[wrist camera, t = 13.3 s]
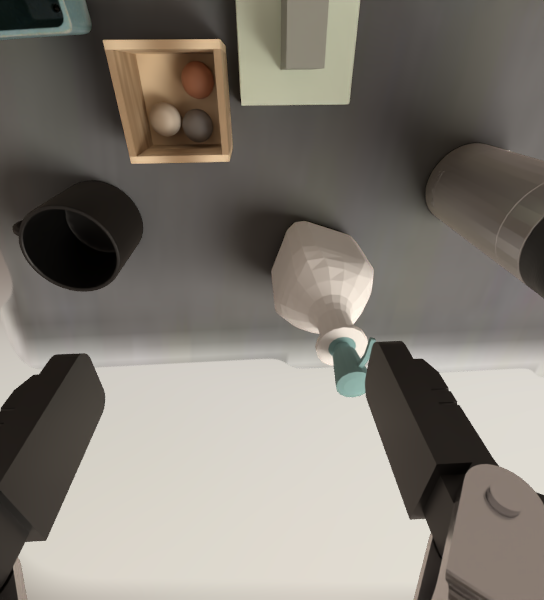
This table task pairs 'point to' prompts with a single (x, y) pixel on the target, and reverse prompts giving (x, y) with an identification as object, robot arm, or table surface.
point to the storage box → (172, 99)
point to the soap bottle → (326, 297)
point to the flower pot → (43, 18)
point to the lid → (296, 51)
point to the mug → (81, 236)
